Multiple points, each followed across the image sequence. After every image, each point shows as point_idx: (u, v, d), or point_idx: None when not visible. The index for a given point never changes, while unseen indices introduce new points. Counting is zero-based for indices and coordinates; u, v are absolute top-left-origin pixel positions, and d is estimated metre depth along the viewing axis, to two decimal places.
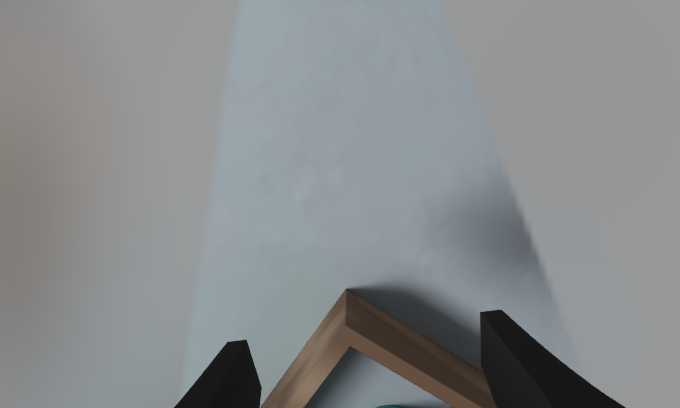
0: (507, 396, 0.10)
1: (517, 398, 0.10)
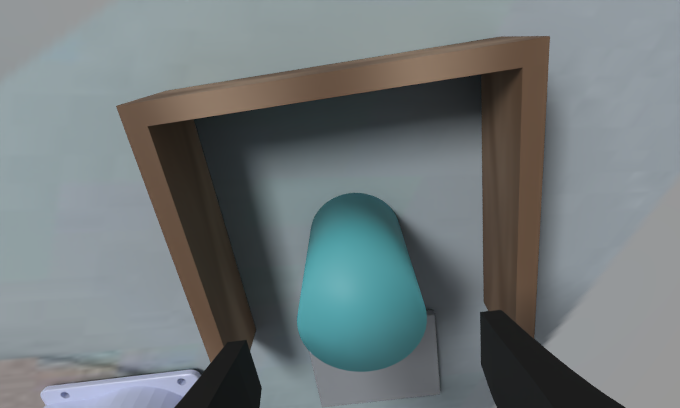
0: (507, 396, 0.10)
1: (517, 398, 0.10)
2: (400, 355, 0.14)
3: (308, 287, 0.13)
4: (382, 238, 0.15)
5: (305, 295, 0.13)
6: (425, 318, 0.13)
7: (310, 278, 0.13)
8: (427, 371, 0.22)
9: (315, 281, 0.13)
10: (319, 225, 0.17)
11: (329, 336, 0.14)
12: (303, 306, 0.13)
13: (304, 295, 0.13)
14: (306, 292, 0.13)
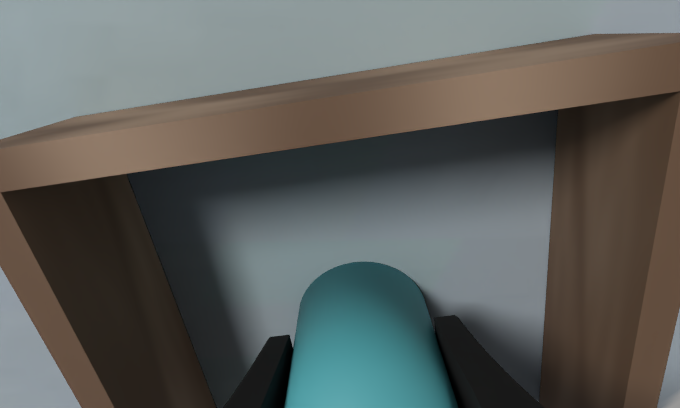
0: None
1: (462, 404, 0.10)
2: None
3: None
4: (410, 367, 0.09)
5: None
6: None
7: None
8: None
9: None
10: (309, 320, 0.11)
11: None
12: None
13: None
14: None
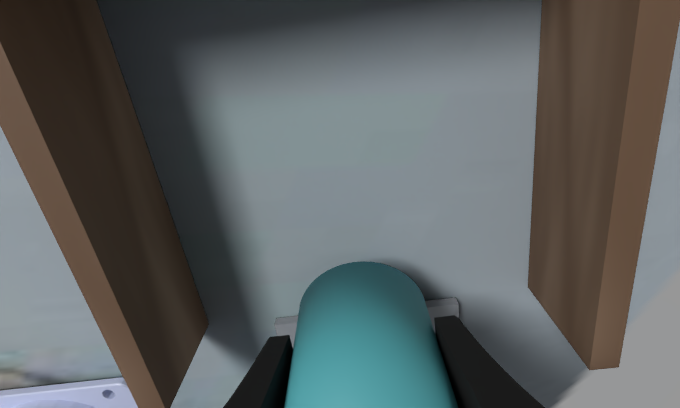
0: None
1: (462, 404, 0.10)
2: None
3: None
4: (410, 367, 0.09)
5: None
6: None
7: None
8: None
9: None
10: (309, 320, 0.11)
11: None
12: None
13: None
14: None
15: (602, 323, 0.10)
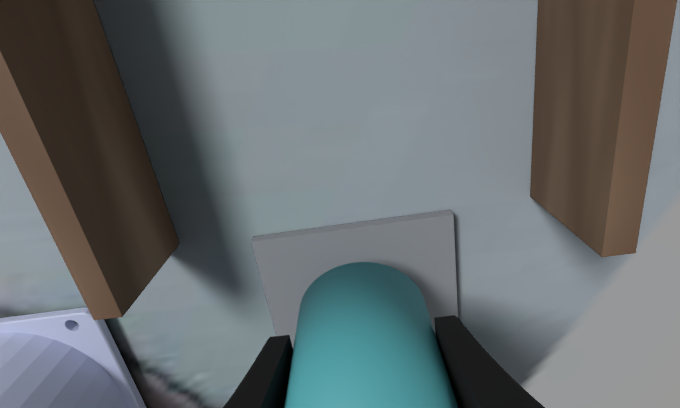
0: None
1: (462, 404, 0.10)
2: None
3: None
4: (410, 367, 0.09)
5: None
6: None
7: None
8: (440, 310, 0.15)
9: None
10: (309, 320, 0.11)
11: None
12: None
13: None
14: None
15: (617, 194, 0.09)
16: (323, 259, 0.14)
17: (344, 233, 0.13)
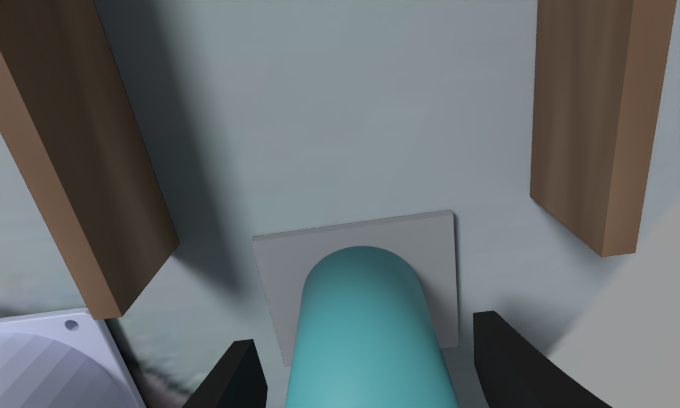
0: (499, 397, 0.10)
1: (508, 399, 0.10)
2: None
3: None
4: (404, 334, 0.10)
5: None
6: None
7: None
8: (440, 310, 0.15)
9: None
10: (313, 297, 0.12)
11: None
12: None
13: None
14: None
15: (616, 194, 0.09)
16: None
17: (343, 233, 0.13)
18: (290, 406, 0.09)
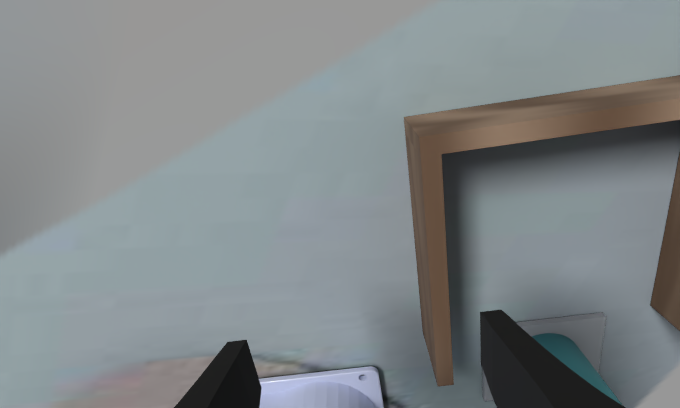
0: (507, 396, 0.10)
1: (517, 398, 0.10)
2: None
3: None
4: (608, 396, 0.19)
5: None
6: None
7: None
8: None
9: None
10: None
11: None
12: None
13: None
14: None
15: None
16: None
17: (540, 326, 0.23)
18: None
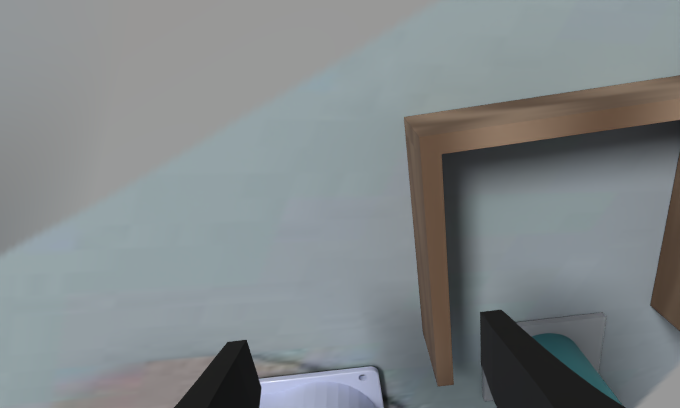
0: (507, 396, 0.10)
1: (517, 398, 0.10)
2: None
3: None
4: (608, 396, 0.19)
5: None
6: None
7: None
8: None
9: None
10: None
11: None
12: None
13: None
14: None
15: None
16: None
17: (540, 326, 0.23)
18: None
